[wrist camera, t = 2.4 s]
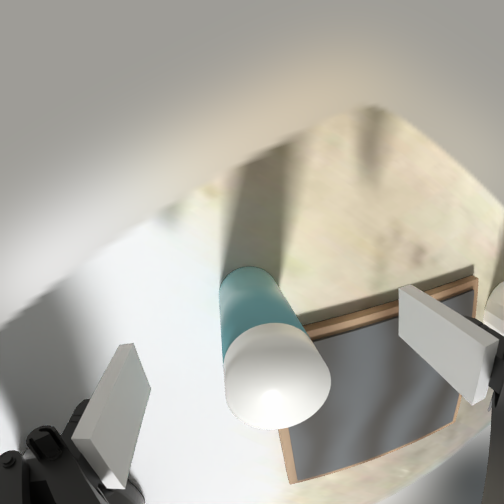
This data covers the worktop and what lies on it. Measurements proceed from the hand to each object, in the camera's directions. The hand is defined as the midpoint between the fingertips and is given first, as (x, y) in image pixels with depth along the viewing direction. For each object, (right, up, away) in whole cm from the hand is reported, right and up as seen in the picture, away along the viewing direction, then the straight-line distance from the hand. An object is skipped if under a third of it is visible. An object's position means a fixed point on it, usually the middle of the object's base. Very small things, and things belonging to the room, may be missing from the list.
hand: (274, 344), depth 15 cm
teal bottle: (-1, +1, +7) cm, 8 cm away
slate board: (+11, -8, +11) cm, 17 cm away
